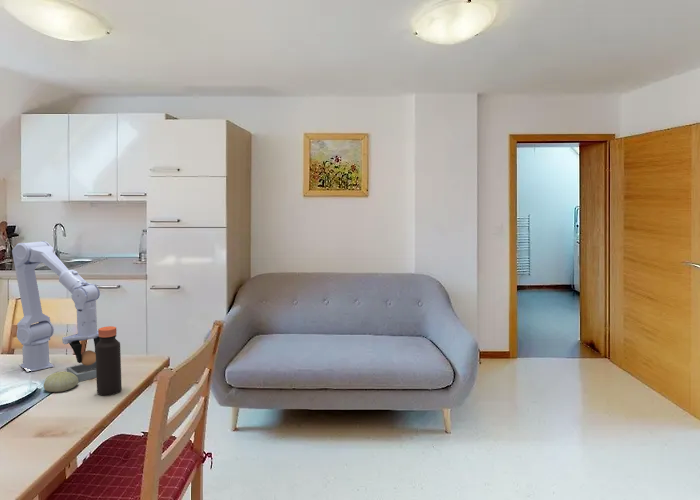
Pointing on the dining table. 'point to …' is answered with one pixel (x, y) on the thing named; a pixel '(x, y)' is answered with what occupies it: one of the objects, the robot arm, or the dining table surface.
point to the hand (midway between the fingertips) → (88, 360)
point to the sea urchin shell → (60, 381)
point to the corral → (83, 375)
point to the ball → (88, 357)
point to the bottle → (108, 362)
